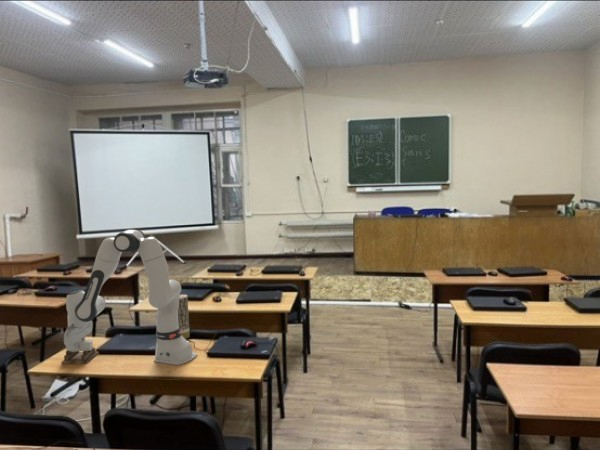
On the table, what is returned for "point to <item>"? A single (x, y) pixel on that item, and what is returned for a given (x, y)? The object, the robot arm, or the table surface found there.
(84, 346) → the grey strip
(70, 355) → the drying rack
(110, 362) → the table surface
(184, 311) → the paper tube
